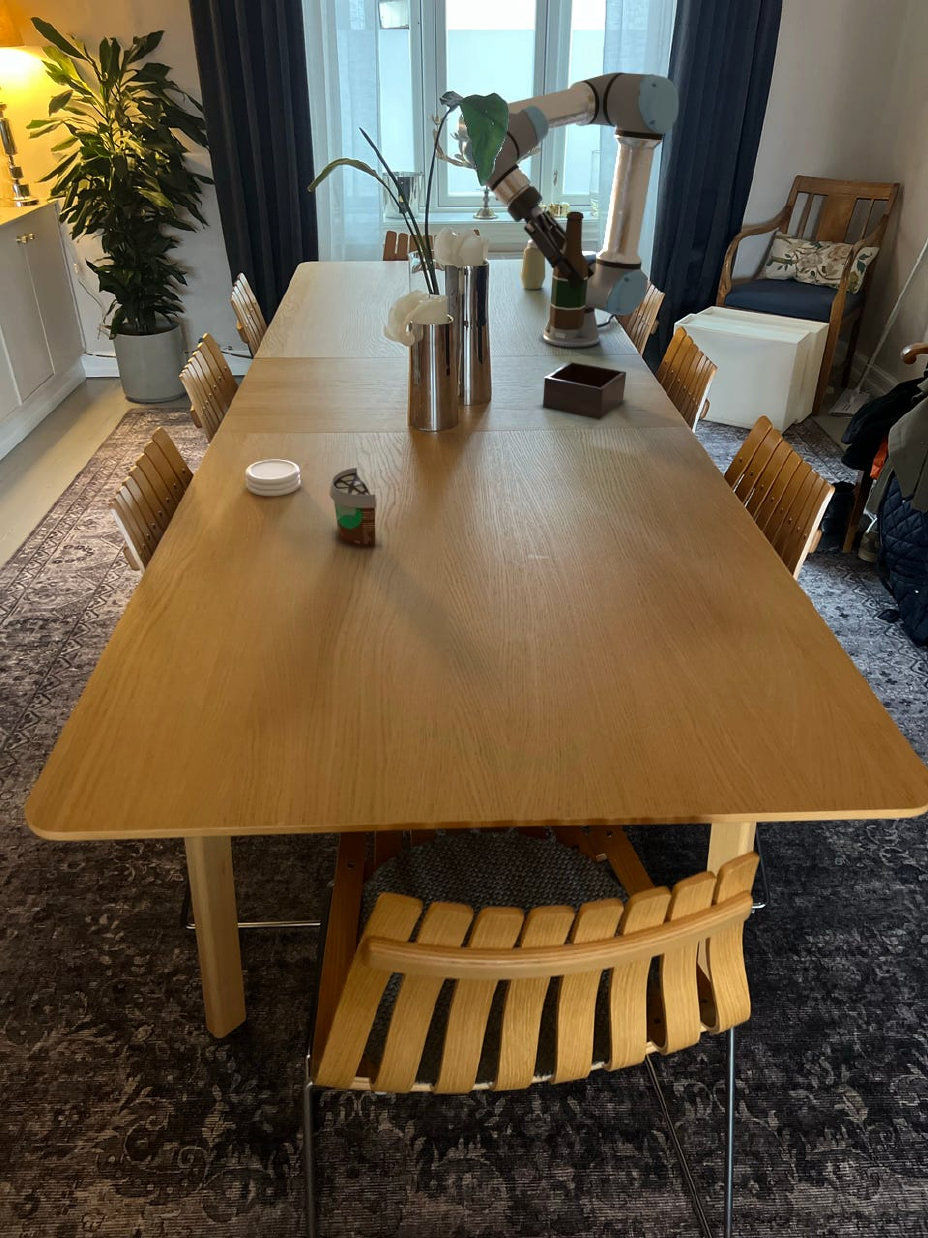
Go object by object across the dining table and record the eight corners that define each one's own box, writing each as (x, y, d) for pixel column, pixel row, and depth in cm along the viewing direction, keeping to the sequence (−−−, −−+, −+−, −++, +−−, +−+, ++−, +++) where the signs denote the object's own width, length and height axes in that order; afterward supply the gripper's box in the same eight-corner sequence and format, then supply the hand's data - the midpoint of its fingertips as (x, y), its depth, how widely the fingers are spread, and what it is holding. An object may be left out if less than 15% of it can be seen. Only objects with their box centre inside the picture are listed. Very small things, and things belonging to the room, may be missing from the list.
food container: (324, 523, 168) (320, 470, 162) (358, 518, 170) (355, 466, 164) (341, 555, 158) (338, 500, 153) (377, 550, 160) (376, 495, 155)
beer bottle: (583, 321, 220) (593, 209, 207) (583, 331, 213) (593, 216, 200) (549, 320, 220) (557, 208, 207) (548, 329, 214) (556, 214, 201)
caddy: (568, 390, 229) (570, 361, 225) (623, 401, 224) (626, 371, 220) (542, 407, 219) (544, 377, 215) (599, 419, 213) (602, 389, 209)
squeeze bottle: (549, 286, 314) (553, 228, 304) (537, 291, 308) (541, 232, 298) (527, 283, 318) (530, 225, 308) (515, 288, 312) (518, 229, 302)
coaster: (309, 479, 183) (307, 462, 181) (287, 500, 175) (285, 483, 173) (261, 472, 185) (259, 455, 183) (237, 493, 177) (235, 476, 175)
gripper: (520, 201, 216) (583, 282, 221) (491, 216, 200) (560, 303, 204) (544, 177, 212) (608, 260, 216) (517, 190, 196) (586, 280, 200)
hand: (584, 281), depth 210 cm, fingers closed on beer bottle, 7 cm apart
